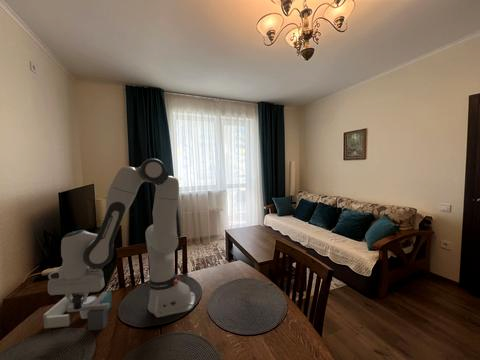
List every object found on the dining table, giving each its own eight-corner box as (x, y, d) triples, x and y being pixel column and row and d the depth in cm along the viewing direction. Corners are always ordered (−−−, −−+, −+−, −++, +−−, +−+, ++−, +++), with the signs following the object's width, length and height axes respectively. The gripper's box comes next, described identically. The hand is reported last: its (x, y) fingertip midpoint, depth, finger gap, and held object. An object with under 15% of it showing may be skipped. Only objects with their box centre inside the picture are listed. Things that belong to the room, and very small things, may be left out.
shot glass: (87, 320, 93) (87, 305, 93) (75, 318, 94) (74, 303, 94) (101, 310, 100) (100, 296, 99) (89, 308, 101) (88, 294, 101)
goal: (87, 306, 103) (86, 294, 103) (67, 326, 90) (66, 312, 90) (66, 307, 102) (66, 295, 102) (44, 328, 89) (43, 314, 89)
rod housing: (107, 323, 91) (106, 306, 91) (103, 329, 88) (102, 311, 87) (92, 325, 90) (91, 307, 90) (88, 330, 87) (87, 312, 87)
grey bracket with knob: (123, 305, 103) (122, 276, 102) (107, 328, 88) (106, 294, 87) (89, 307, 101) (87, 278, 101) (66, 332, 86) (64, 297, 86)
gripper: (106, 264, 91) (108, 295, 92) (55, 268, 89) (57, 299, 90) (98, 271, 85) (100, 304, 86) (43, 275, 83) (45, 309, 84)
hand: (78, 302), depth 88 cm, fingers closed on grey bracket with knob, 3 cm apart
